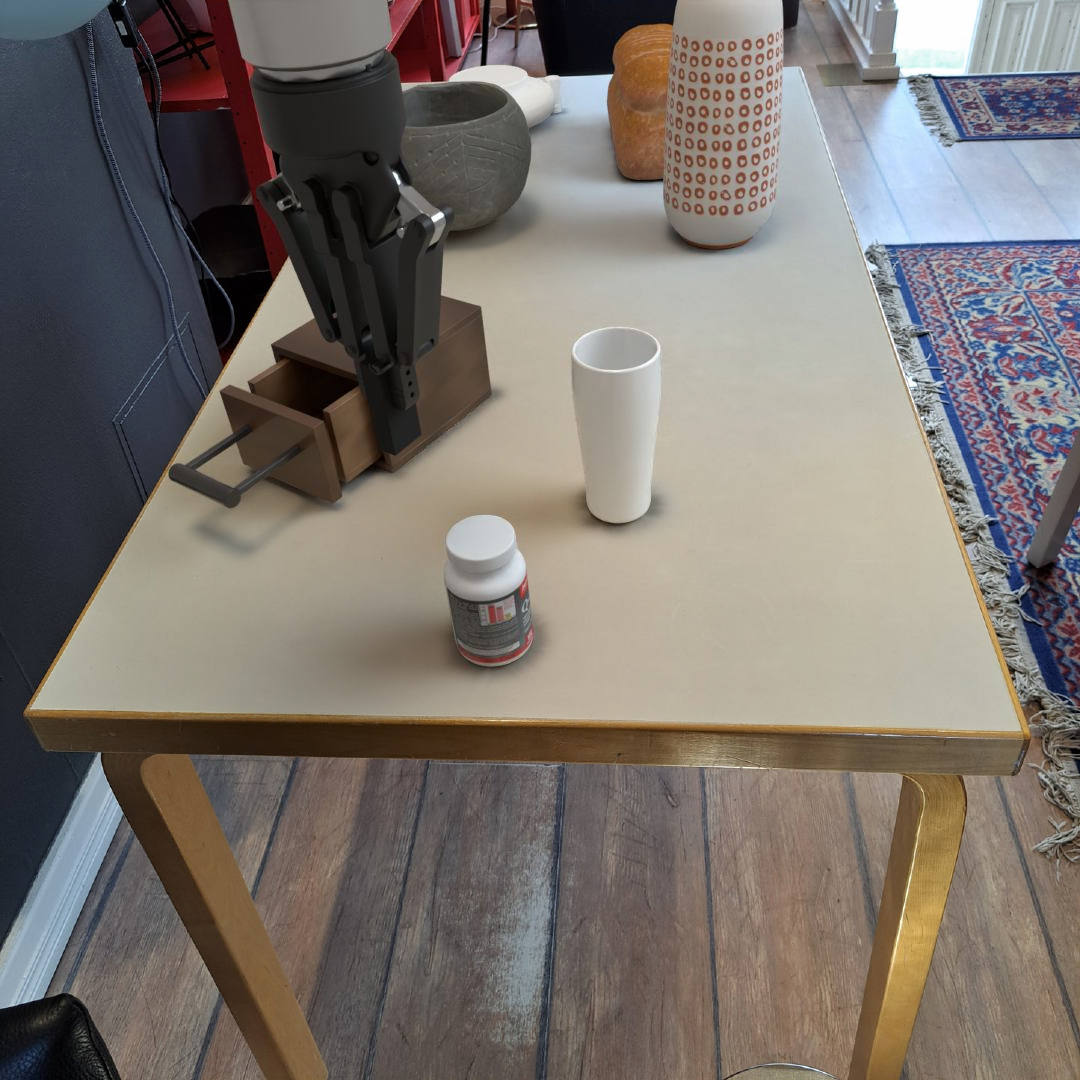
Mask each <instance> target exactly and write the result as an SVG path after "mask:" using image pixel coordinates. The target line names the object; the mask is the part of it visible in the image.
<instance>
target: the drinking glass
mask: <svg viewBox="0 0 1080 1080" xmlns="http://www.w3.org/2000/svg"><path fill="white" fill-rule="evenodd" d="M661 348H662V347H661V344H660V342H659V340H657V338H656V337H655V336H654V335H652V334H651V333H649V332H647V331H645V330H642V329H639V328H635V327H628V326H607V327H601V328H597V329H594V330H592V331H589V332H587V333H585V334H583V335H581V336H579V338H577V339H576V340H575V341H574V342H573V344H572V346H571V348H570V376H571V377H570V382H571V394H572V395H571V396H572V402H573V403H572V404H573V405H572V406H573V412H574V419H575V424H576V431H577V437H578V438H577V439H578V443H579V450H580V457H581V463H582V470H583V477H584V485H585V499H586V505H587V508H588V510H589V512H590V513H591V514H592V515H593V516H594V517H596V518H597V519H599V520H601V521H603V522H607V523H611V524H626V523H630V522H633V521H636V520H638V519H640V518H641V517H643V516H644V515H645V514H646V512H648V510H649V508H650V506H651V501H652V480H653V471H654V463H655V462H654V461H655V453H656V444H657V435H658V428H659V427H658V425H659V418H660V417H659V416H660V409H661V397H662V379H663V378H662V376H663V375H662V349H661Z"/></svg>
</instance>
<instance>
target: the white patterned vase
mask: <svg viewBox="0 0 1080 1080" xmlns="http://www.w3.org/2000/svg"><path fill="white" fill-rule="evenodd" d="M672 26H673V33H672V43H671V52H670V63H669V78H668V93H667V108H666V129H665V153H664V178H663V181H662V199H663V206H664V211H665V213H666V217H667V219H668V221H669V222H670V224H671V226H672V227H673V229H674V230H675V231H676V232H677V234H679V235H680V237H681V238H682V239H683V240H684V241H685V242H686V243H687V244H689V245H691V246H695V247H698V248H702V249H709V250H723V249H725V250H726V249H731V248H736V247H739V246H742V245H745V244H747V243H748V242H749V241H751V240H752V238H753V237H754V236H755V235H756V234H757V233H758V232H759V231H760V230H761V229H762V228H763V227H764V226H765V224H766V223H767V221H768V220H769V219H770V216H771V214H772V213H773V210H774V206H775V204H776V203H775V202H776V197H777V191H778V190H777V189H778V177H779V159H780V142H781V128H782V127H781V126H782V108H783V107H782V106H783V80H784V79H783V78H784V6H783V0H677V1H676V5H675V10H674V16H673V24H672Z"/></svg>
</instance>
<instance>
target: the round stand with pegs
mask: <svg viewBox="0 0 1080 1080" xmlns="http://www.w3.org/2000/svg"><path fill="white" fill-rule="evenodd" d="M461 81H479V82H487V83H492V84H496V85H498V86H500V87H501V88H503V89H504V90H506V91H507V92H508V93H509V94H510V95H511V96H512V97H513V98H514V99H515V101H516V102H517V103H518V105H519V106H520V108H521V109H522V111H523V113H524V115H525V118H526V121H527V125H528V128H529V129H530V128H533V127H535V126H538V125H539V124H541V123H543V122H544V121H545V120H547V119H548V118H549V117H550V115H551V114H559V113H561V112H562V111H563V109H562V105H561V106H559V107H554V106H555V104H560V102H561V103H562V89H561V77H560V76H559V75H555V74H552V75H547V76H545V77H544V80H541V79H539V78H537V77H534V76H531V75H530V76H529V75H528V73H527V71H526V70H525V69H523V68H521V67H518V66H514V65H507V64H488V65H480V66H474V67H470V68H469V67H468V68H465V69H462V70H460V71H459V70H458V71H457V72H456V73H453V74H452V75H451V76H450V77H449V78H448V80H447V82H461Z"/></svg>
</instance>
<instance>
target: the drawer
mask: <svg viewBox="0 0 1080 1080" xmlns="http://www.w3.org/2000/svg"><path fill="white" fill-rule="evenodd" d="M247 386H248V388H249V391H247V390H245V389H243V388H239V387H237V386H235V385H232V384H228V385H226V386H224V387H223V388H221V389H220V390H219V394H220V397H221V401H222V404H223V407H224V410H225V413H226V416H227V419H228V422H229V425H230V428H231V431H232V433H231V434H230V435H228V436H226V438H223V439H222V440H221V441H219V442H217V443H216V444H215V445H213V446H211V447H210V448H208V449H207V450H205V451H204V452H202V453H201V454H199V455H198V456H196V457H194V458H193V459H191V460H190V461H189V462H187V463H185V464H183V463H181V462H176V463H174V464H172V465H171V466H170V467H169V470H168V472H167V473H168V474H167V476H168V478H169V480H170V481H171V482H173V483H175V484H177V485H180V486H181V487H183V488H185V489H188V490H190V491H192V492H194V493H196V494H198V495H200V496H202V497H204V498H206V499H209V501H210V500H211V501H213V502H215V503H216V504H219V505H221V506H223V507H225V508H227V509H235V508H236V507H237V506H238V505H239V504H240V502H241V500H242V495H243V494H244V493H246V492H248V491H249V490H250V489H252V488H253V487H255V486H256V485H257V484H258V483H260V482H261V481H263V480H264V479H266V478H267V477H271V478H274V479H276V480H279V481H280V482H283V483H285V484H287V485H289V486H292V487H294V488H296V489H299V490H301V491H303V492H305V493H307V494H310V495H312V496H314V497H316V498H318V499H321V500H323V501H326V502H328V503H330V504H332V505H334V504H335V503H337V502H338V501H339V500H341V499H342V498H343V493H342V488H341V484H340V481H341V482H343V483H345V484H348V483H350V481H352V480H353V479H354V478H356V477H358V475H359V474H361V473H363V471H365V470H366V469H368V468H369V467H370V466H371V465H373V464H372V463H374V462H375V461H376V460H378V459H379V458H380V457H382V456H383V455H384V454H383V451H381V450H378V446H377V441H376V437H375V432H374V428H373V423H372V419H371V415H370V410H369V406H368V401H367V398H364V397H363V395H362V393H361V391H360V387H359V382H356V381H353V380H351V379H348V378H345V377H342V376H339V375H337V374H334V373H331V372H328V371H325V370H322V369H320V368H317V367H314V366H311V365H308V364H306V363H303V362H300V361H297V360H294V359H292V358H289V357H286V358H284V359H283V360H281V361H279V362H278V363H276V362H275V363H274V364H273V365H271V366H269V367H268V368H266V369H265V370H264V371H262V372H260V373H259V374H257V375H255V376H253V377H252V378H251V379H249V380H247ZM235 444H236V446H237V449H238V452H239V455H240V458H241V462H242V464H243V465H244V466H247V467H248V468H251V469H253V470H256V472H254V473H252V474H251V475H249V476H248V477H246V478H245V479H244V480H242V481H240V483H238V484H237V485H236V486H234V487H233V486H230V485H228V484H226V483H224V482H222V481H219V480H218V479H215V478H213V477H211V476H209V475H207V474H204V472H203V473H202V472H201V471H198V470H197V469H199V468H200V467H202V466H204V465H205V464H207V463H208V462H210V461H211V460H212V459H214V458H215V457H217V456H218V455H220V454H222V453H223V452H224V451H226V450H228V449H229V448H231V447H232V446H233V445H235Z"/></svg>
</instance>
